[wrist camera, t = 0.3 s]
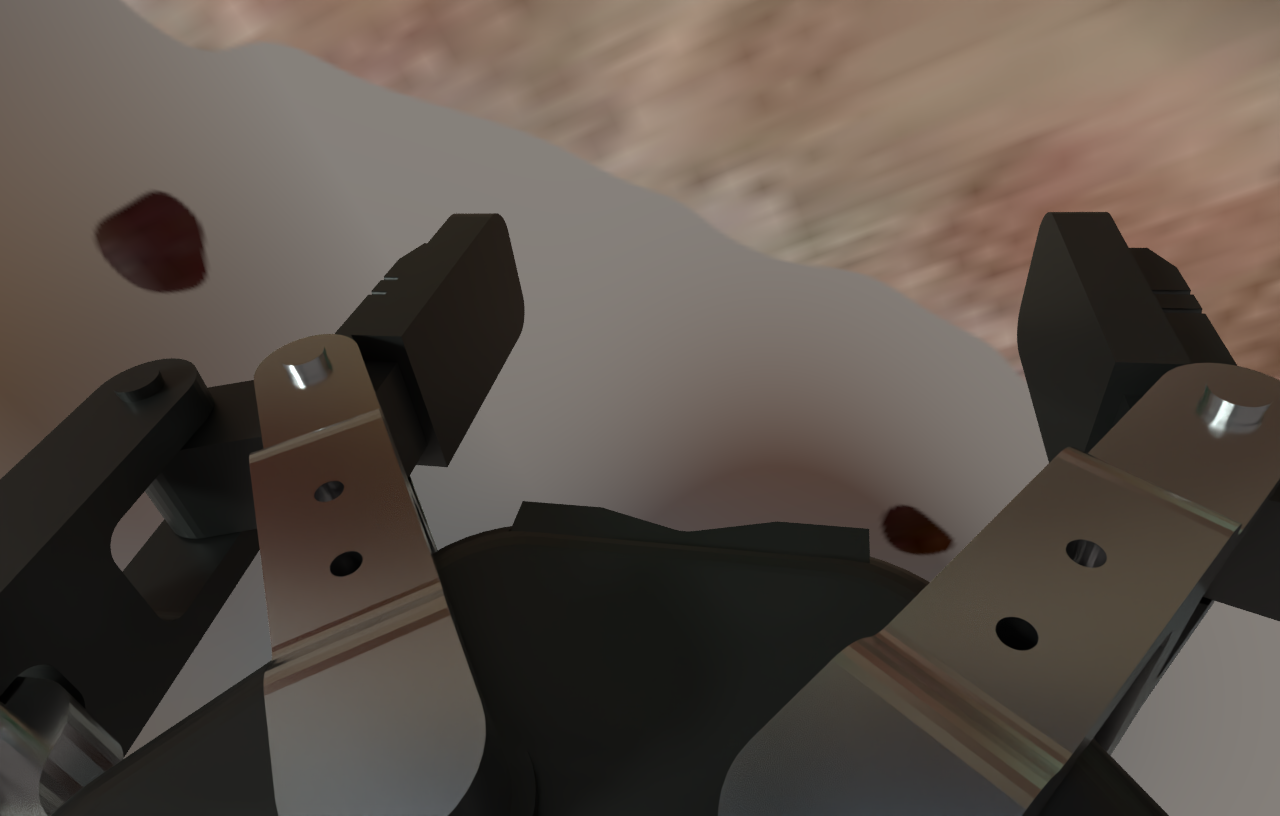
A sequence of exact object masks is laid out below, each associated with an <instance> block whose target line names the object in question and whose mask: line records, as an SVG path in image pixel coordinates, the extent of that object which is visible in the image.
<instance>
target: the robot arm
mask: <svg viewBox="0 0 1280 816" xmlns="http://www.w3.org/2000/svg"><path fill="white" fill-rule="evenodd" d="M1190 291H1191V290H1190V288H1189V287H1188V285H1187V283H1186V282H1185V280H1184V278H1183V277H1182V275H1181V274H1180V272H1179V270H1178V269H1177V267H1175V266H1174V265H1172V264H1171V263H1169V262H1168V261H1166V260H1165V259H1163V258H1162V257H1160V256H1159V255H1157V254H1156V253H1154V252H1153V251H1151V250H1150V249H1148V248H1128V246H1127V244H1126V242H1125V240H1124V239H1123V237H1122V235H1121V233H1120V231H1119V229H1118V228H1117V226H1116V224H1115V222H1114V220H1113V218H1112V217H1111V215H1110V214H1109V213H1108V212H1048V213H1047V214H1046V215H1045V216H1044V218H1043V220H1042V222H1041V225H1040V228H1039V232H1038V236H1037V240H1036V244H1035V248H1034V252H1033V257H1032V261H1031V265H1030V269H1029V273H1028V277H1027V282H1026V286H1025V290H1024V294H1023V298H1022V303H1021V307H1020V312H1019V318H1018V328H1017V343H1018V351H1019V355H1020V359H1021V363H1022V366H1023V370H1024V373H1025V377H1026V381H1027V384H1028V388H1029V392H1030V395H1031V399H1032V403H1033V406H1034V410H1035V413H1036V417H1037V421H1038V424H1039V428H1040V432H1041V435H1042V439H1043V443H1044V446H1045V450H1046V453H1047V457H1048V461H1049V464H1048V465H1047V466H1046V467H1045V468H1044V469H1043V470H1042V471H1041V472H1040V473H1039V474H1038V475H1037V476H1036V477H1035V478H1034V479H1033V480H1032V481H1031V482H1030V483H1029V484H1028V485H1027V486H1026V487H1025V488H1024V489H1023V490H1022V491H1021V492H1020V493H1019V494H1018V495H1017V496H1016V497H1015V498H1014V499H1013V500H1012V501H1011V502H1010V503H1009V504H1008V505H1007V506H1006V507H1005V508H1004V509H1003V510H1002V511H1001V512H1000V513H999V514H998V515H997V516H996V517H995V518H994V519H993V520H992V521H991V522H990V523H989V524H988V525H987V526H986V527H985V528H984V529H983V530H982V531H981V532H980V533H979V534H978V535H977V536H976V537H975V538H974V539H973V540H972V541H971V542H970V543H969V544H968V545H967V546H966V547H965V548H964V549H963V550H962V551H961V552H960V553H959V554H958V555H957V556H956V557H955V558H954V559H953V560H952V561H951V562H950V563H949V564H948V565H947V566H946V567H945V568H944V569H943V570H942V571H941V572H940V573H939V574H938V575H937V576H936V577H935V578H934V579H933V580H932V581H931V582H928V581H927V580H925V579H923V578H921V577H919V576H917V575H915V574H913V573H911V572H910V571H907V570H905V569H903V568H900V567H898V566H895V565H893V564H890V563H888V562H885V561H882V560H879V559H876V558H873V557H870V550H869V529H863V528H850V527H837V526H825V525H813V524H800V523H788V522H771V523H762V524H753V525H744V526H736V527H727V528H718V529H709V530H701V531H691V532H686V531H678V530H674V529H671V528H667V527H664V526H661V525H658V524H654V523H651V522H647V521H644V520H641V519H638V518H634V517H631V516H628V515H625V514H621V513H618V512H615V511H611V510H608V509H605V508H601V507H588V506H576V505H563V504H550V503H538V502H525V501H523V502H522V505H521V507H520V509H519V511H518V514H517V516H516V518H515V521H514V523H513V526H510V527H503V528H499V529H494V530H490V531H485V532H482V533H479V534H476V535H472V536H469V537H466V538H464V539H462V540H459V541H457V542H454V543H452V544H450V545H448V546H445V547H444V548H442V549H440V550H437V547H436V544H435V541H434V539H433V536H432V533H431V530H430V528H429V525H428V522H427V519H426V517H425V514H424V511H423V509H422V506H421V503H420V500H419V498H418V495H417V492H416V490H415V487H414V484H413V482H412V479H411V477H410V474H411V472H412V471H413V469H414V467H415V466H416V465H426V466H427V465H428V466H440V467H448V465H449V463H450V461H451V460H452V458H453V456H454V454H455V452H456V450H457V449H458V447H459V445H460V443H461V441H462V440H463V438H464V436H465V434H466V432H467V431H468V429H469V427H470V425H471V423H472V422H473V419H474V418H475V416H476V414H477V412H478V411H479V409H480V407H481V405H482V403H483V402H484V400H485V398H486V396H487V394H488V393H489V391H490V389H491V387H492V385H493V384H494V382H495V380H496V378H497V376H498V374H499V373H500V371H501V369H502V367H503V365H504V364H505V362H506V359H507V358H508V356H509V354H510V353H511V351H512V349H513V347H514V345H515V343H516V342H517V340H518V338H519V336H520V334H521V331H522V328H523V323H524V300H523V294H522V290H521V286H520V282H519V277H518V273H517V268H516V264H515V259H514V255H513V251H512V246H511V242H510V238H509V233H508V229H507V226H506V223H505V221H504V219H503V218H502V216H501V215H499V214H453V215H451V216H450V217H449V218H448V219H447V221H446V222H445V223H444V224H443V225H442V227H441V228H440V229H439V230H438V232H437V233H436V234H435V235H434V236H433V238H432V239H431V240H430V241H429V242H428V243H427V244H426V243H424V244H423V245H421V246H419V247H418V248H416V249H415V250H413V251H411V252H410V253H408V254H407V255H405V256H403V257H402V258H400V259H399V260H398V261H397V262H396V263H395V264H394V266H393V267H392V268H391V269H390V270H389V271H388V273H387V274H386V275H385V276H384V280H381V281H380V282H379V283H378V284H377V285H376V287H375V288H374V289H373V290H372V295H368V296H367V297H366V298H365V299H364V300H363V302H362V303H361V304H360V305H359V306H358V307H357V308H356V310H355V311H354V312H353V313H352V314H351V315H350V317H349V318H348V319H347V320H346V321H345V322H344V324H343V325H342V326H341V327H340V328H339V329H338V330H337V332H336V333H335V334H323V335H315V336H310V337H306V338H302V339H299V340H296V341H293V342H291V343H289V344H287V345H284V346H282V347H281V348H279V349H277V350H276V351H274V352H273V353H271V354H270V355H269V356H268V357H266V358H265V359H264V360H263V361H262V362H261V363H260V364H259V366H258V367H257V369H256V371H255V374H254V380H251V381H245V382H239V383H233V384H227V385H222V386H215V387H209V388H207V386H206V385H205V383H204V381H203V379H202V378H201V376H200V374H199V372H198V371H197V369H196V367H195V365H193V364H192V363H191V362H189V361H187V360H182V359H161V360H155V361H152V362H147V363H144V364H141V365H138V366H135V367H133V368H130V369H128V370H126V371H124V372H121V373H120V374H118V375H116V376H114V377H113V378H111V379H110V380H108V381H106V382H105V383H104V384H103V385H101V386H100V387H99V388H98V389H97V390H96V391H94V392H93V393H92V394H91V395H90V396H89V397H88V398H87V399H86V400H85V401H84V402H83V403H82V404H81V405H79V407H77V408H76V409H75V410H74V411H73V412H72V413H71V414H70V415H69V416H68V417H67V418H66V419H65V420H63V421H62V422H61V423H60V424H59V425H58V426H57V427H56V428H55V429H54V430H53V431H52V432H51V433H50V434H48V435H47V436H46V437H45V438H44V439H43V440H42V441H41V442H40V443H39V444H38V445H37V446H36V447H35V448H34V449H32V450H31V451H30V452H29V453H28V454H27V455H26V456H25V457H24V458H23V459H22V460H21V461H20V462H19V463H18V464H16V465H15V466H14V467H13V468H12V469H11V470H10V471H9V472H8V473H7V474H6V475H5V476H4V477H2V478H1V479H0V816H1169V815H1168V814H1167V813H1166V812H1165V811H1164V810H1163V809H1162V808H1161V807H1160V806H1159V805H1158V804H1157V803H1156V802H1155V801H1154V800H1153V799H1152V798H1151V797H1150V796H1149V795H1148V794H1147V793H1146V792H1145V791H1144V790H1143V789H1142V788H1141V787H1140V786H1139V785H1138V784H1137V783H1136V782H1135V781H1134V779H1133V778H1132V777H1131V776H1130V775H1129V774H1128V773H1127V772H1126V771H1125V770H1124V769H1123V768H1122V767H1121V766H1120V765H1119V764H1118V763H1117V762H1116V761H1115V760H1114V759H1113V758H1112V757H1111V754H1112V753H1113V751H1114V750H1115V748H1116V746H1117V745H1118V743H1119V742H1120V740H1121V738H1122V737H1123V735H1124V734H1125V732H1126V731H1127V729H1128V727H1129V726H1130V724H1131V723H1132V721H1133V719H1134V718H1135V716H1136V715H1137V713H1138V711H1139V710H1140V708H1141V707H1142V705H1143V704H1144V702H1145V701H1146V699H1147V698H1148V696H1149V695H1150V694H1151V692H1152V691H1153V689H1154V688H1155V686H1156V685H1157V684H1158V682H1159V681H1160V679H1161V678H1162V676H1163V675H1164V673H1165V672H1166V671H1167V669H1168V668H1169V666H1170V665H1171V663H1172V662H1173V661H1174V659H1175V658H1176V656H1177V655H1178V653H1179V652H1180V650H1181V649H1182V648H1183V646H1184V645H1185V643H1186V642H1187V640H1188V639H1189V638H1190V636H1191V635H1192V633H1193V632H1194V630H1195V629H1196V628H1197V626H1198V625H1199V623H1200V622H1201V620H1202V619H1203V617H1204V616H1205V615H1206V613H1207V612H1208V610H1209V609H1210V607H1211V606H1212V605H1213V603H1214V601H1218V602H1221V603H1224V604H1227V605H1230V606H1233V607H1237V608H1240V609H1243V610H1246V611H1249V612H1253V613H1256V614H1259V615H1262V616H1265V617H1268V618H1271V619H1274V620H1277V621H1280V381H1279V380H1277V379H1275V378H1273V377H1271V376H1269V375H1266V374H1263V373H1261V372H1258V371H1255V370H1251V369H1248V368H1244V367H1239V366H1237V364H1236V363H1235V361H1234V360H1233V358H1232V356H1231V355H1230V353H1229V351H1228V350H1227V348H1226V347H1225V345H1224V343H1223V342H1222V340H1221V338H1220V337H1219V335H1218V334H1217V332H1216V330H1215V329H1214V327H1213V325H1212V324H1211V322H1210V321H1209V319H1208V317H1207V316H1206V314H1202V308H1201V306H1200V304H1199V303H1198V301H1197V300H1196V298H1195V296H1194V295H1190ZM144 491H145V492H146V493H147V495H148V496H149V498H150V499H151V501H152V502H153V503H154V505H155V506H156V508H157V509H158V510H159V512H160V513H161V515H162V516H163V517H164V521H163V522H162V523H161V524H160V526H159V527H158V528H157V530H156V531H155V532H154V533H153V534H152V536H151V537H150V538H149V539H148V541H147V542H146V543H145V544H144V546H143V547H142V548H141V549H140V551H139V552H138V553H137V554H136V556H135V557H134V558H133V559H132V561H131V562H130V563H129V564H128V566H127V567H126V568H125V569H124V571H123V572H122V571H121V570H120V569H119V568H118V566H117V565H116V563H115V562H114V560H113V558H112V555H111V549H110V543H111V537H112V533H113V531H114V528H115V527H116V525H117V523H118V522H119V521H120V519H121V518H122V517H123V515H125V513H126V512H127V511H128V510H129V509H130V508H131V506H132V505H133V504H134V503H135V502H136V501H137V499H138V498H139V497H140V496H141V495H142V494H143V493H144ZM259 550H260V556H261V564H262V573H263V581H264V589H265V598H266V606H267V614H268V622H269V630H270V639H271V647H272V660H271V661H270V662H268V663H267V664H265V665H264V666H263V667H261V668H260V669H258V670H256V671H255V672H254V673H252V674H250V675H249V676H248V677H246V678H244V679H243V680H242V681H240V682H238V683H237V684H236V685H234V686H233V687H231V688H229V689H228V690H227V691H225V692H223V693H222V694H220V695H219V696H217V697H216V698H214V699H213V700H212V701H210V702H209V703H207V704H206V705H204V706H203V707H201V708H200V709H198V710H197V711H195V712H194V713H192V714H191V715H189V716H188V717H186V718H185V719H183V720H182V721H180V722H179V723H177V724H176V725H174V726H173V727H171V728H170V729H168V730H167V731H165V732H164V733H162V734H161V735H159V736H158V737H156V738H155V739H153V740H152V741H150V742H149V743H147V744H146V745H144V746H143V747H141V748H140V749H138V750H137V751H135V752H134V753H132V754H131V755H129V756H128V757H126V758H125V759H123V758H124V757H125V755H126V753H127V752H128V750H129V749H130V747H131V746H132V744H133V743H134V741H135V740H136V738H137V737H138V735H139V734H140V732H141V730H142V729H143V727H144V726H145V724H146V723H147V721H148V720H149V718H150V717H151V715H152V714H153V712H154V711H155V709H156V707H157V706H158V704H159V703H160V701H161V700H162V698H163V697H164V695H165V693H166V692H167V691H168V689H169V688H170V686H171V684H172V683H173V681H174V680H175V678H176V677H177V675H178V674H179V672H180V671H181V669H182V667H183V666H184V665H185V663H186V662H187V660H188V658H189V657H190V655H191V654H192V652H193V651H194V649H195V647H196V646H197V645H198V643H199V641H200V640H201V639H202V637H203V635H204V634H205V632H206V631H207V629H208V628H209V626H210V625H211V623H212V622H213V620H214V619H215V617H216V615H217V614H218V613H219V611H220V609H221V608H222V606H223V605H224V603H225V602H226V600H227V599H228V597H229V596H230V594H231V593H232V591H233V590H234V588H235V587H236V585H237V584H238V582H239V580H240V579H241V577H242V576H243V574H244V573H245V571H246V570H247V568H248V567H249V565H250V564H251V562H252V561H253V559H254V557H255V556H256V554H257V553H258V551H259Z"/></svg>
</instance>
